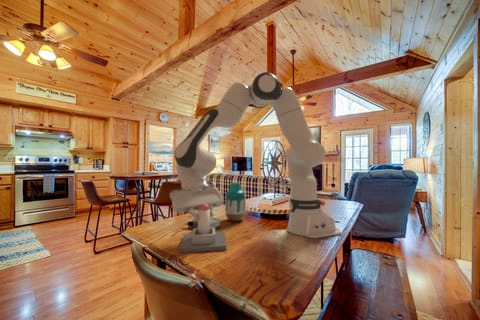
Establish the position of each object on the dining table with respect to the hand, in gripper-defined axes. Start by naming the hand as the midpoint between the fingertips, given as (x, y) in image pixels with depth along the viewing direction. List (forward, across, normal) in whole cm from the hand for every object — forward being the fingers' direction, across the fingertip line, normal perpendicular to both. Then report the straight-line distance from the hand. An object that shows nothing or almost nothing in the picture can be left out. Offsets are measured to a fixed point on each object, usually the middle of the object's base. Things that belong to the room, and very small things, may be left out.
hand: (204, 217), depth 78 cm
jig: (+6, 0, +7) cm, 10 cm away
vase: (-6, +26, +20) cm, 34 cm away
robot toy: (-5, +8, +19) cm, 21 cm away
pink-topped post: (+4, 0, +5) cm, 7 cm away
